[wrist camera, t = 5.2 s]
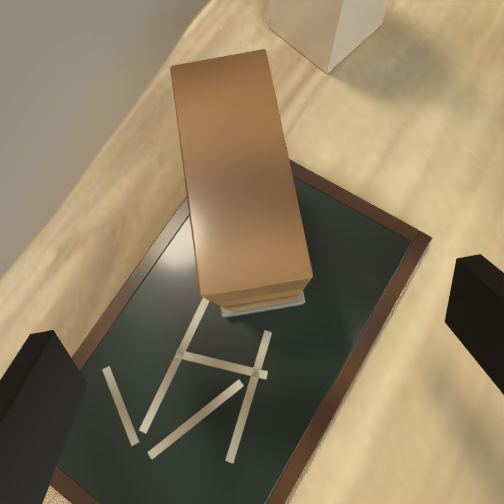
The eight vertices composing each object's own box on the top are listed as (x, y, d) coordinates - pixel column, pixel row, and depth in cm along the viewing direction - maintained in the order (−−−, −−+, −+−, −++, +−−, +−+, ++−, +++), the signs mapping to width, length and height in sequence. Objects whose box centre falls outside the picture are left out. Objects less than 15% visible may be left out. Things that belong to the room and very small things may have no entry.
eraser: (204, 179, 25) (154, 64, 14) (275, 166, 25) (279, 41, 14) (224, 318, 22) (182, 305, 12) (303, 304, 22) (332, 280, 12)
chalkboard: (235, 136, 27) (234, 128, 26) (426, 241, 24) (433, 237, 23) (17, 443, 22) (6, 448, 21) (220, 613, 20) (217, 628, 19)
